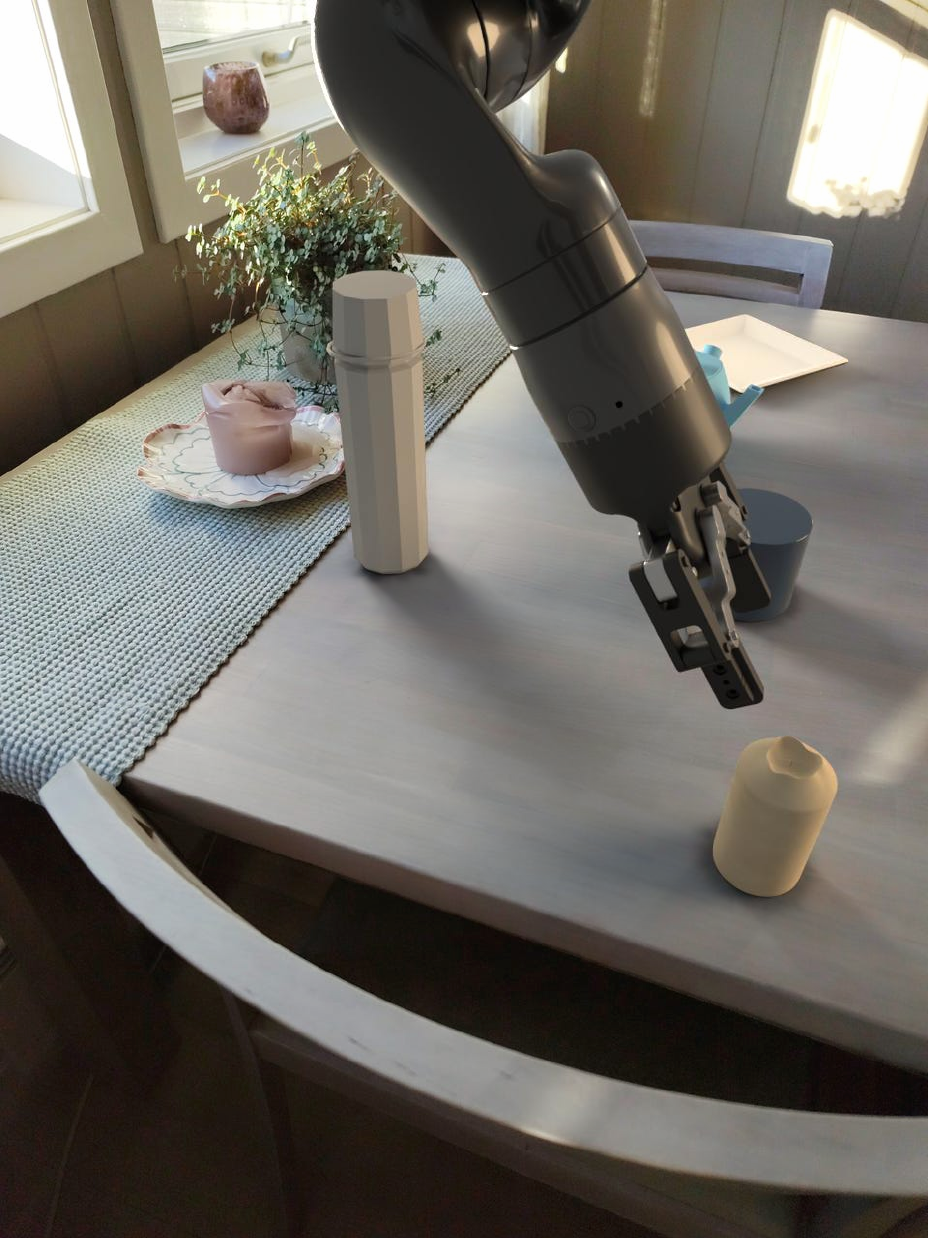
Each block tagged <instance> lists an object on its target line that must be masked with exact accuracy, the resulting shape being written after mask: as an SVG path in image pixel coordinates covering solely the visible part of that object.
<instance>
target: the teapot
mask: <svg viewBox="0 0 928 1238" xmlns="http://www.w3.org/2000/svg"><path fill="white" fill-rule="evenodd" d="M693 349H694V348H693ZM694 352H695V354H696V356H697V358H698V360H699V362H700V365H701V367H702V369H703V371H704V373H705V376H706V378H707V380H708V382H709V384H710V387H711V389H712V391H713V393H714V395H715V398H716V400H717V402H718V404H719V406H720V409H721V411H722V413H723V415H724V417H725V420H726V422H727V424H728V426H729V428H730V430H731V429H732V428H733V427H734V426H735V424H737V422H738V421H739V420H740V419H741V418H742V417H743V416H744V415H745V413H746V412H747V411H748V410H749V409H750V408H751V406H752V405H753V404H754V403H755V401H757V399H758V398H759V397H760V396H761V395H762V394H763V393H764V390H765V388H764V389H763V388H761V387H758V386H755V385H753V384H751V385H750V386H748V387H747V389H746V391H745V392H744V393H742V394H739V396H738V397H737V398H736V399H735V400H733V401H731V390H730V389H729V384H728V380H727V376H726V372H725V368H724V366H723V363H722V361H721V360H720V356H721V354H722V350H721V349H720V348H718V347H716V346H713V345H705V347H704V349H703V351H702V352H698V351H696V350H695V349H694ZM731 402H732V403H731Z"/></svg>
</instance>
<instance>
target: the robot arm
mask: <svg viewBox="0 0 928 1238" xmlns="http://www.w3.org/2000/svg"><path fill="white" fill-rule="evenodd" d="M593 2H594V0H314V1H313V6H312V11H311V17H310V18H311V22H310V24H311V25H310V29H311V33H310V34H311V47H312V48H311V49H312V53H313V59H314V63H315V69H316V73H317V76H318V79H319V82H320V85H321V88H322V91H323V94H324V96H325V99H326V101H327V103H328V105H329V107H330V109H331V110H332V113H333V115H334V117H335V119H336V120H337V122H338V124H339V125H340V126H341V128H342V130H343V131H344V132H345V134H346V136H347V137H348V138H349V140H350V141H351V142H352V144H353V145H354V147H355V148H356V149H357V150H358V151H359V152H360V154H361V155H362V156H363V157H364V159H366V161H367V162H368V163H369V164H370V165H371V166H372V167H373V168H374V170H376V172H378V174H379V175H380V176H381V177H382V178H383V179H384V180H385V181H386V182H387V183H388V184H389V185H390V186H391V187H392V189H394V191H395V192H396V193H397V194H398V195H399V196H400V197H401V198H402V199H403V200H404V201H405V203H407V204H408V205H409V207H410V208H411V209H412V210H413V211H414V212H415V213H416V214H417V215H418V217H420V219H421V220H422V221H423V222H424V223H425V224H426V225H427V227H428V228H429V229H430V230H431V231H432V232H433V233H434V234H435V235H436V236H437V237H438V238H439V239H440V240H441V241H442V243H444V244H445V245H446V246H447V247H448V248H449V250H450V251H451V252H452V253H453V254H454V255H455V256H456V257H457V258H458V260H460V261H461V263H462V264H463V265H464V266H465V267H466V269H467V271H468V273H469V274H470V275H471V278H472V280H473V281H474V284H475V286H476V288H477V290H478V292H479V293H480V296H481V298H482V300H483V301H484V303H485V304H486V306H487V309H488V311H489V312H490V314H491V316H492V318H493V319H494V321H495V324H496V325H497V327H498V328H499V330H500V332H501V334H502V336H503V338H504V339H505V341H506V344H507V345H509V349H510V351H511V353H512V355H513V357H514V359H515V361H516V364H517V367H518V369H519V372H520V375H521V377H522V380H523V382H524V386H525V388H526V390H527V391H528V394H529V396H530V398H531V400H532V402H533V404H534V405H535V407H536V409H537V411H538V413H539V415H540V416H541V418H542V421H543V422H544V424H545V425H546V428H547V429H548V431H549V433H550V435H551V436H552V438H553V440H554V443H555V444H556V445H557V447H558V450H559V451H560V453H561V455H562V457H563V459H564V460H565V462H566V464H567V466H568V468H569V470H570V471H571V474H572V475H573V477H574V479H575V480H576V482H577V484H578V486H579V487H580V489H581V491H582V493H583V495H584V497H585V499H586V500H587V502H588V504H589V505H590V507H591V508H593V510H595V511H596V512H598V513H601V514H603V515H608V516H615V515H617V516H623V517H627V518H630V519H632V520H634V522H636V524H637V526H636V527H637V529H638V534H637V535H638V541H639V546H640V550H641V554H642V556H643V559H645V560H642V561H639V562H637V563H632V564H630V565H629V566H628V568H627V569H628V570H627V572H628V579H629V581H630V583H631V585H632V587H633V590H634V591H635V593H636V595H637V597H638V599H639V601H640V603H641V605H642V607H643V608H644V610H645V612H646V614H647V616H648V618H649V620H650V623H651V624H652V626H653V629H654V630H655V632H656V634H657V636H658V638H659V640H660V642H661V644H662V645H663V647H664V650H665V651H666V653H667V655H668V657H669V659H670V661H671V663H672V665H673V666H674V669H675V670H676V671H677V672H678V673H684V672H687V671H692V670H696V669H700V670H701V672H702V673H703V675H704V677H705V678H706V681H707V683H708V685H709V687H710V688H711V691H712V692H713V694H714V696H715V697H716V699H717V701H718V703H719V705H720V706H721V707H722V708H723V709H726V710H736V709H741V708H745V707H750V706H755V705H759V704H761V703H762V702H763V700H764V694H765V693H764V692H765V687H764V685H763V682H762V681H761V678H760V677H759V675H758V673H757V671H756V668H755V667H754V665H753V663H752V660H751V659H750V657H749V655H748V652H747V650H746V648H745V647H744V645H743V642H742V640H741V639H740V634H739V631H738V630H737V628H736V624H735V620H733V616H732V613H731V609H730V605H731V607H732V609H733V610H734V611H735V612H736V613H739V614H743V613H747V612H751V611H754V610H758V609H761V608H765V607H767V606H768V605H769V604H770V601H771V592H770V590H769V588H768V586H767V584H766V582H765V579H764V577H763V575H762V573H761V571H760V569H759V567H758V565H757V563H756V560H755V558H754V556H753V554H752V552H751V550H750V548H745V546H748V545H750V538H751V537H750V533H749V531H748V530H747V529H746V527H745V526H744V525H743V523H742V522H743V521H746V520H748V509H747V507H746V505H744V503H743V501H742V499H741V497H740V495H739V493H738V491H737V489H738V488H737V487H736V485H735V482H734V480H733V479H732V477H731V476H732V475H731V474H730V472H729V470H728V468H727V466H726V464H725V462H724V460H725V458H726V457H727V455H728V453H729V451H730V449H731V447H732V446H731V445H732V441H733V436H732V435H733V434H732V431H731V429H730V428H729V426H728V424H727V422H726V420H725V417H724V415H723V413H722V411H721V409H720V406H719V404H718V402H717V400H716V398H715V395H714V393H713V391H712V389H711V387H710V384H709V382H708V380H707V378H706V376H705V373H704V371H703V369H702V367H701V365H700V362H699V360H698V358H697V356H696V354H695V352H694V349H693V347H692V345H691V343H690V341H689V338H688V336H687V334H686V332H685V329H686V328H685V327H684V325H683V322H682V321H681V319H680V315H678V312H677V310H676V309H675V307H674V305H673V303H672V302H671V300H670V298H669V296H668V295H667V294H666V292H665V291H664V289H663V287H662V286H661V284H660V283H659V281H658V279H657V278H656V276H655V274H654V273H653V271H652V269H651V267H650V265H649V264H647V263H648V261H647V259H646V256H645V254H644V252H643V250H642V248H641V245H640V244H639V241H638V239H637V236H636V235H635V232H634V230H633V227H632V226H631V224H630V221H629V219H628V218H627V217H628V216H627V215H626V213H625V211H624V208H623V207H621V205H622V204H621V202H620V200H619V198H618V196H617V193H616V192H615V190H614V188H613V186H612V184H611V182H610V180H609V177H608V176H607V173H605V170H604V169H603V167H602V166H601V165H600V163H599V162H598V161H597V159H596V158H595V157H594V156H593V155H592V154H590V153H588V152H587V151H584V150H581V149H575V148H571V149H564V150H559V151H555V152H551V153H547V154H541V155H539V154H535V153H532V152H531V151H529V150H528V149H527V148H526V147H525V146H524V145H523V144H522V143H521V142H520V141H519V139H518V138H517V137H516V136H515V134H513V133H512V132H511V130H509V128H508V127H507V126H506V125H505V124H504V122H502V119H500V118H499V116H497V113H499V112H500V111H502V110H504V109H506V108H507V107H509V106H511V105H512V104H513V103H515V102H516V101H518V100H519V99H521V98H522V97H523V96H525V95H526V94H527V93H528V92H529V91H530V90H532V89H533V88H534V87H535V86H536V85H537V84H538V83H539V82H540V81H541V80H542V79H543V78H544V76H545V75H547V73H548V72H549V71H550V70H551V69H552V67H553V66H554V65H555V64H556V62H557V61H558V60H560V57H561V56H563V53H564V52H565V51H566V49H567V48H568V47H569V45H570V43H571V42H572V40H573V39H574V37H575V35H576V34H577V32H578V31H579V29H580V28H581V26H582V23H583V22H584V19H585V18H586V16H587V14H588V12H589V10H590V8H591V7H592V4H593ZM713 575H714V580H713V582H712V584H711V585H710V586H708V587H706V588H701V585H700V583H699V581H698V580H701V579H705V578H708V577H711V576H713ZM729 603H730V605H729ZM710 604H711V605H712V607H713V610H714V612H713V610H712V608H711V606H710ZM696 627H698V628H699V629H700V631H696Z"/></svg>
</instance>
